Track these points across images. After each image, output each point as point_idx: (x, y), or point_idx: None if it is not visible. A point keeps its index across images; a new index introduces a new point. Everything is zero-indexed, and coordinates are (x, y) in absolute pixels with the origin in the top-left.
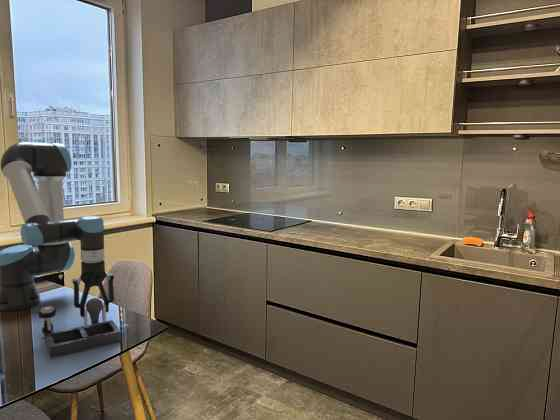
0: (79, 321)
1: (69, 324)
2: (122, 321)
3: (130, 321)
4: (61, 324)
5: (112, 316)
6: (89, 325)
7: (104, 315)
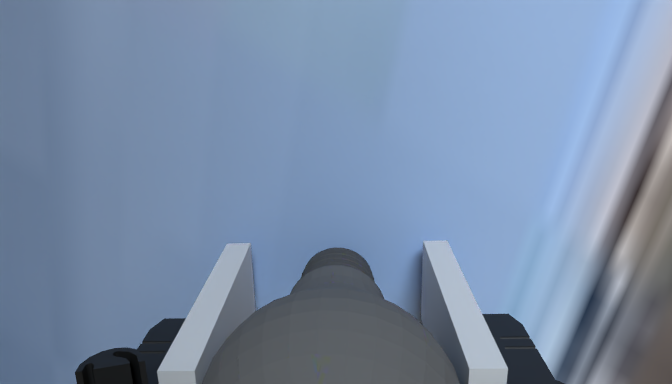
0: (202, 77)
1: (95, 111)
2: (603, 312)
3: (668, 350)
4: (11, 64)
5: (568, 120)
6: None
7: None
